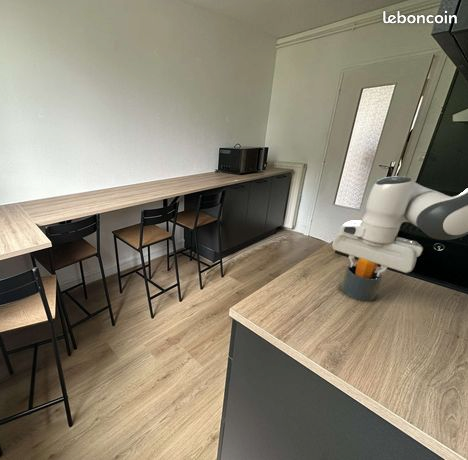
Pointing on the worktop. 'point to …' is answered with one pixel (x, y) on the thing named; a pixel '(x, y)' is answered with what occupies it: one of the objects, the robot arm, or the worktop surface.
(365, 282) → the tumbler
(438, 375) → the worktop surface
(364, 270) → the carrot
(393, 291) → the worktop surface
